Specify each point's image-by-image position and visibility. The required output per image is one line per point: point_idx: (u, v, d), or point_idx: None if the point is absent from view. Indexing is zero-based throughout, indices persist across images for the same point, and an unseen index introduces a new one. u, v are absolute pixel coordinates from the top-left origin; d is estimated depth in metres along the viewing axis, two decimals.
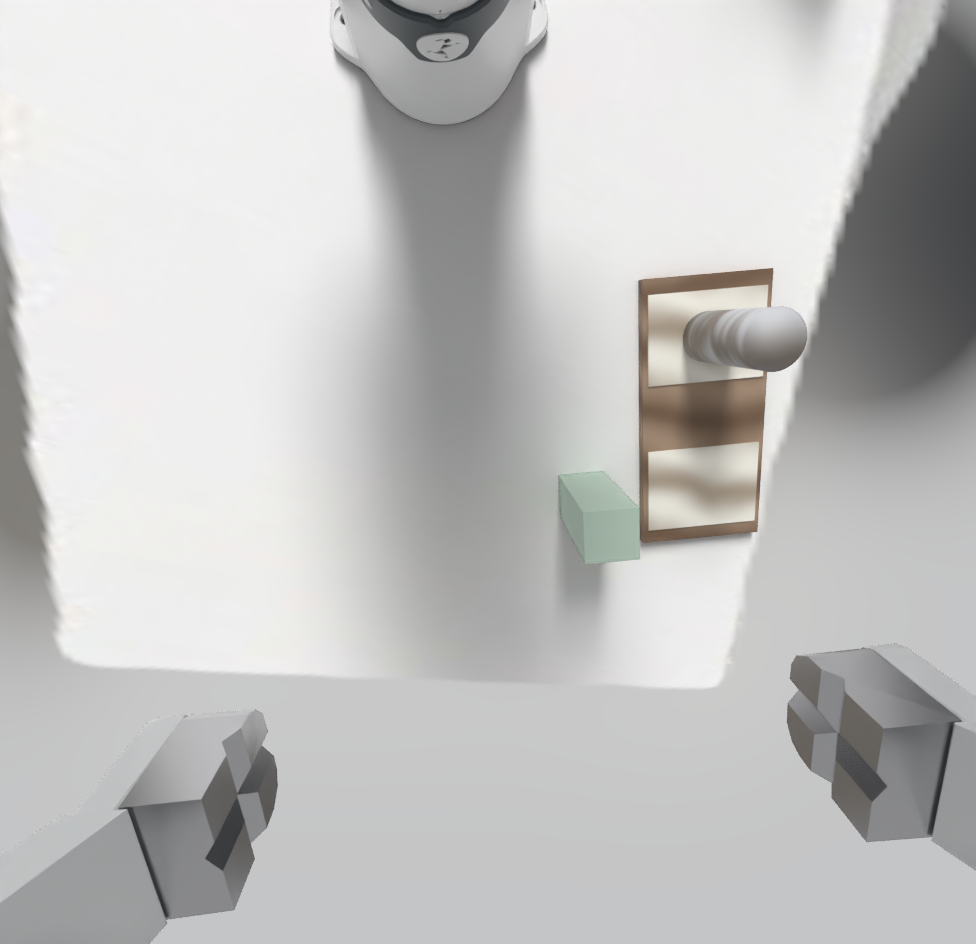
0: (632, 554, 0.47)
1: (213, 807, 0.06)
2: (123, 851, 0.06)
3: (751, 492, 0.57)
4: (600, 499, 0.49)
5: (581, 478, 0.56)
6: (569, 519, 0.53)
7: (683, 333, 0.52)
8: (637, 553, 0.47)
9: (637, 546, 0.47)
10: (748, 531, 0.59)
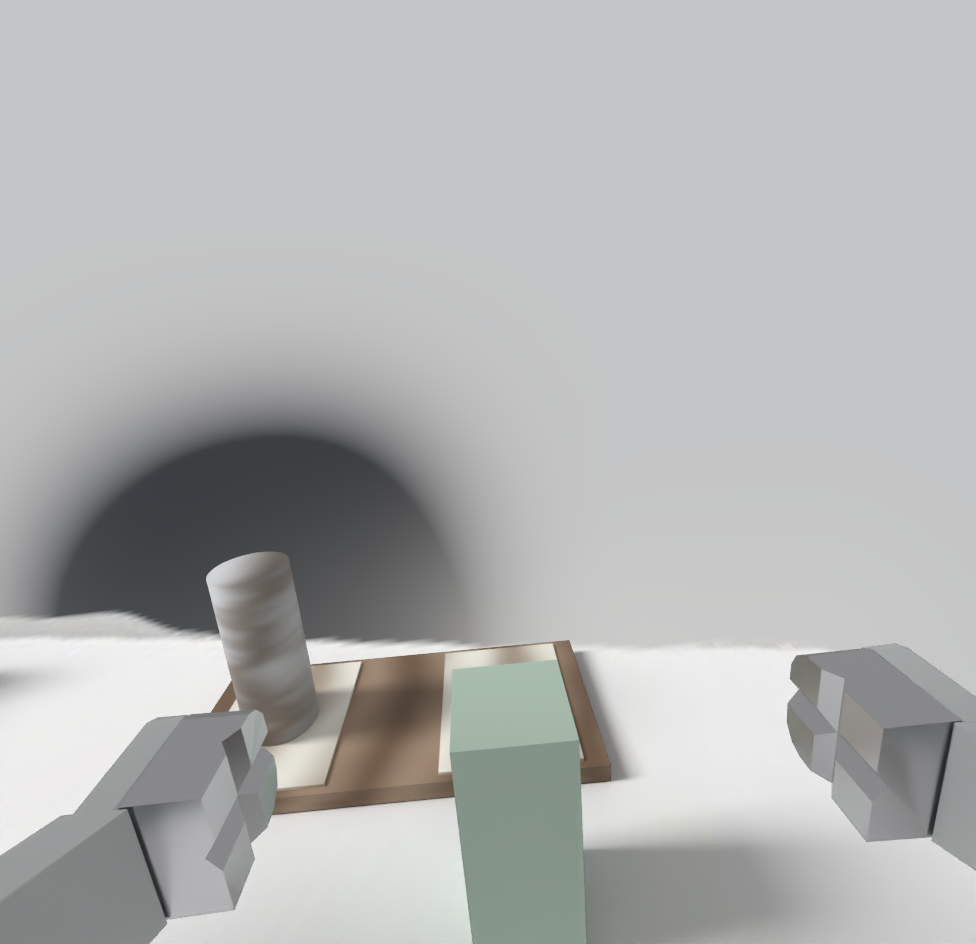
0: (548, 668, 0.24)
1: (213, 807, 0.06)
2: (123, 851, 0.06)
3: (513, 650, 0.43)
4: None
5: None
6: (541, 875, 0.22)
7: None
8: (545, 663, 0.25)
9: (530, 664, 0.25)
10: (570, 647, 0.43)
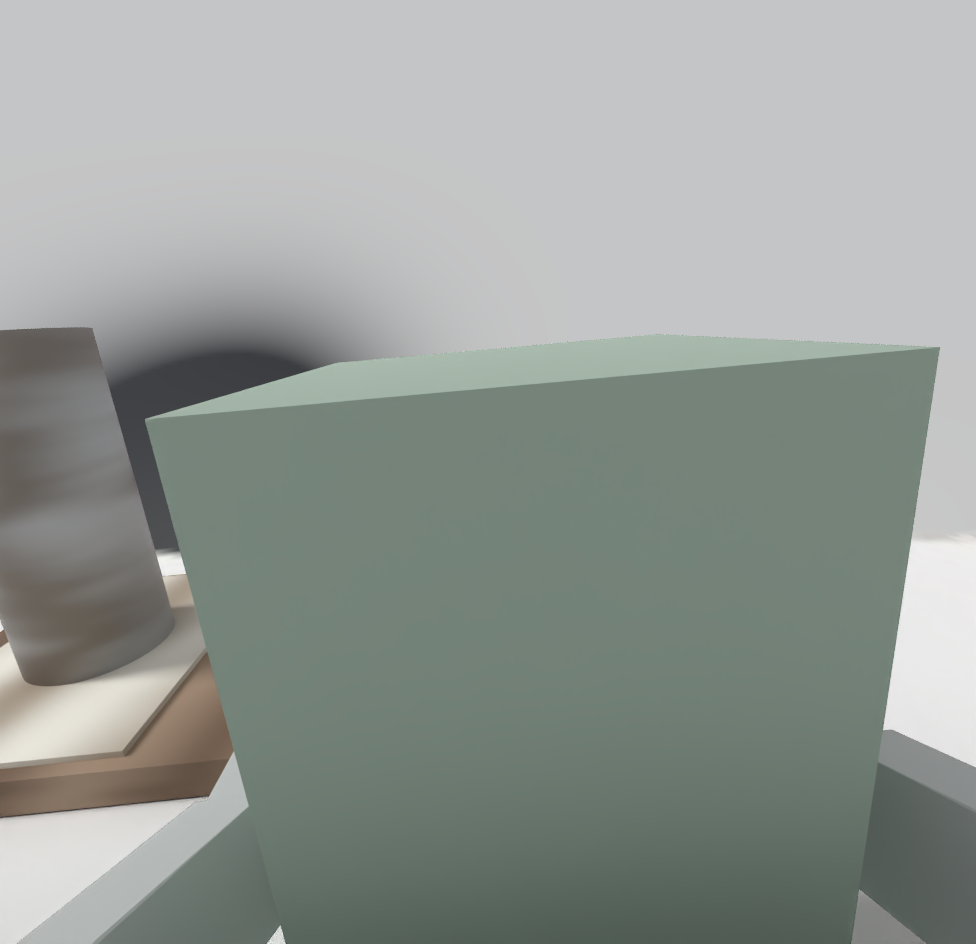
0: (639, 338, 0.07)
1: None
2: None
3: None
4: None
5: None
6: None
7: (41, 685, 0.18)
8: (624, 337, 0.08)
9: (579, 341, 0.08)
10: None
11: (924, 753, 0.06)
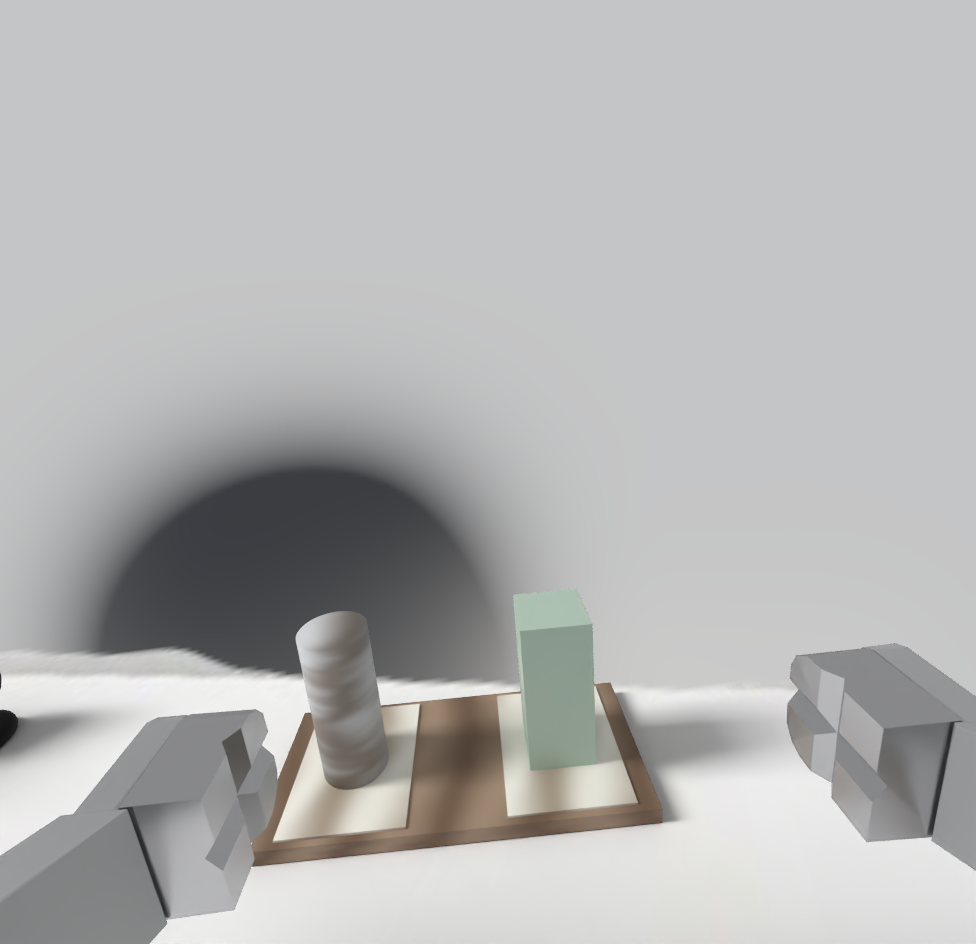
0: (572, 593, 0.40)
1: (213, 807, 0.06)
2: (123, 851, 0.06)
3: None
4: (519, 648, 0.39)
5: (525, 729, 0.41)
6: (570, 708, 0.38)
7: (342, 789, 0.39)
8: (570, 590, 0.40)
9: (561, 591, 0.40)
10: (611, 690, 0.47)
11: None
